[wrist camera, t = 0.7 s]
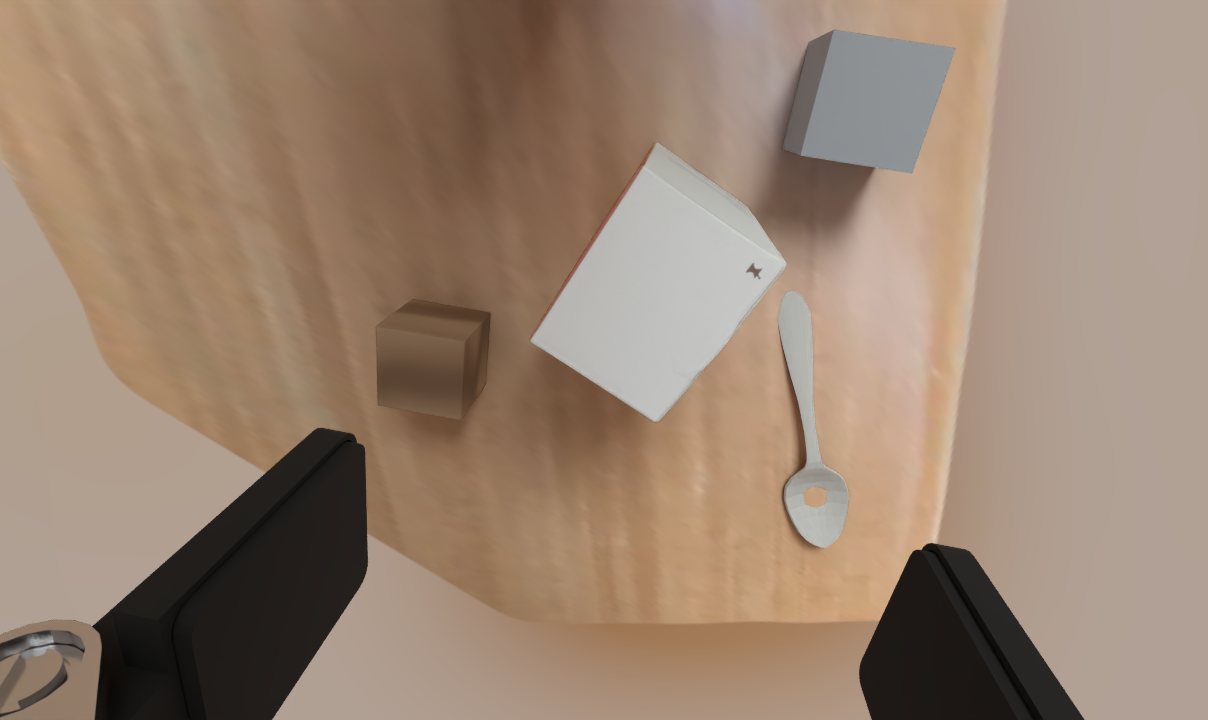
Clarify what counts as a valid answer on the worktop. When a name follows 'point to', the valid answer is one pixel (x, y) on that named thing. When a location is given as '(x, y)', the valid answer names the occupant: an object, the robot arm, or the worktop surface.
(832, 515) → the spoon
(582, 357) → the small box
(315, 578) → the robot arm
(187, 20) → the worktop surface
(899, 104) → the slate block
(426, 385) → the walnut block
